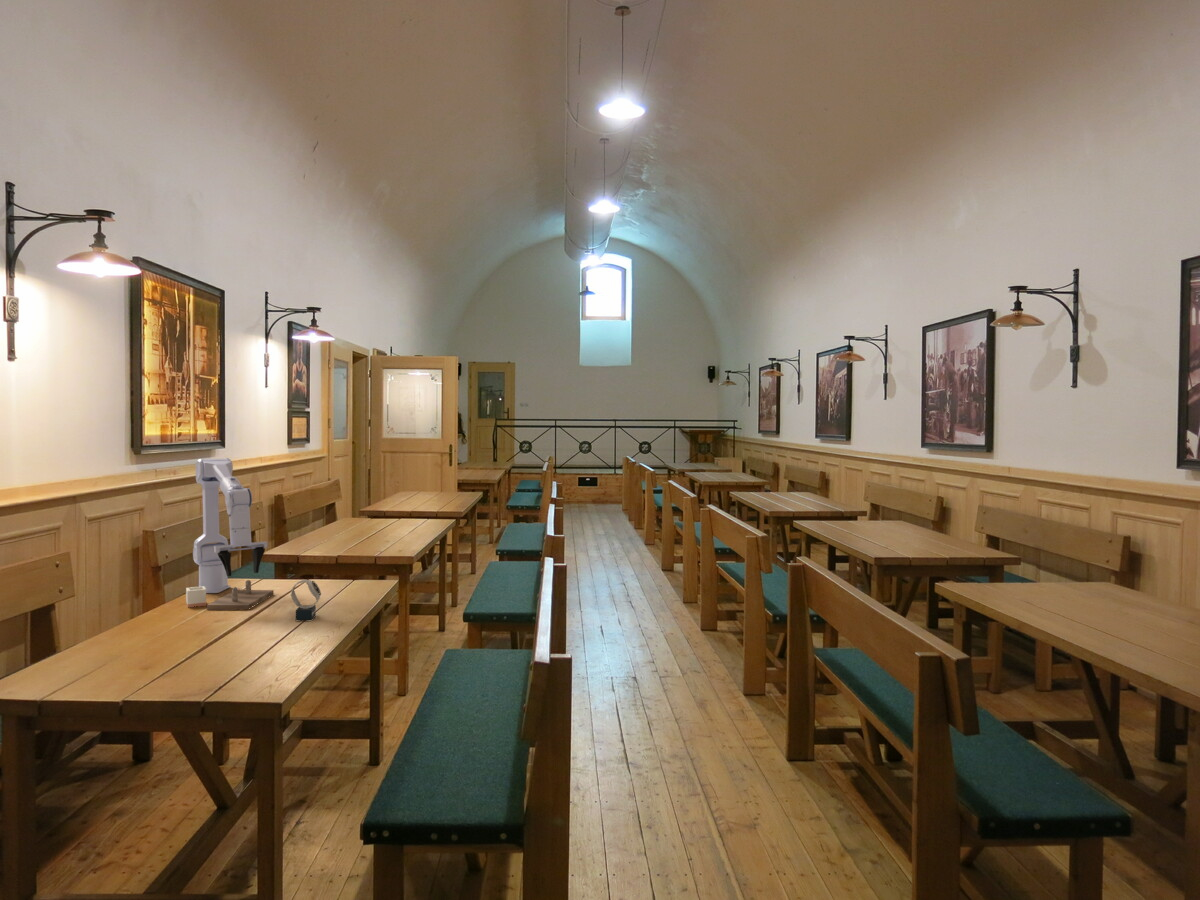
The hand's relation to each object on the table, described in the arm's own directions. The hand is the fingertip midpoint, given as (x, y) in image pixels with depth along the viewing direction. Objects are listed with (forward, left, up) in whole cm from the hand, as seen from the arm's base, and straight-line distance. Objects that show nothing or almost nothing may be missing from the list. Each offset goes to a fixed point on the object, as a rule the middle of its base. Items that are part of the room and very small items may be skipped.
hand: (242, 574), depth 231 cm
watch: (+10, +22, -11) cm, 26 cm away
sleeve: (-5, -16, -11) cm, 20 cm away
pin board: (-9, -4, -11) cm, 15 cm away
